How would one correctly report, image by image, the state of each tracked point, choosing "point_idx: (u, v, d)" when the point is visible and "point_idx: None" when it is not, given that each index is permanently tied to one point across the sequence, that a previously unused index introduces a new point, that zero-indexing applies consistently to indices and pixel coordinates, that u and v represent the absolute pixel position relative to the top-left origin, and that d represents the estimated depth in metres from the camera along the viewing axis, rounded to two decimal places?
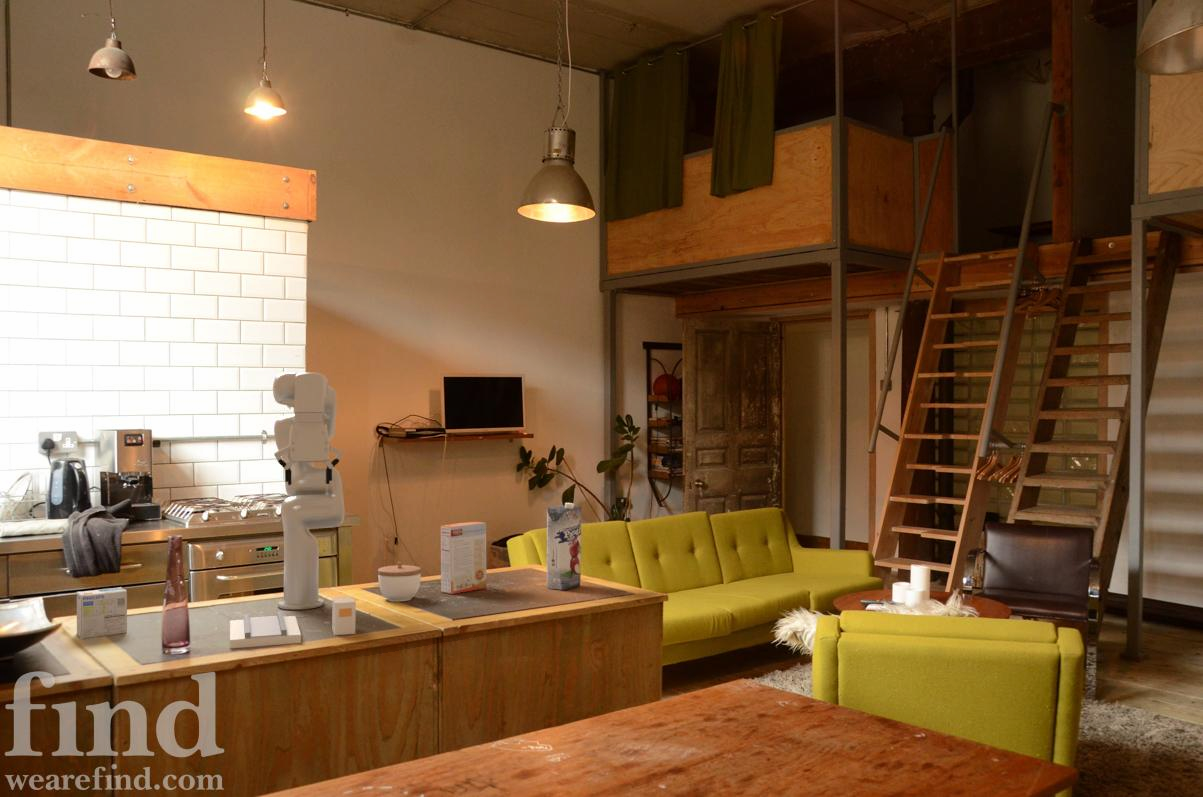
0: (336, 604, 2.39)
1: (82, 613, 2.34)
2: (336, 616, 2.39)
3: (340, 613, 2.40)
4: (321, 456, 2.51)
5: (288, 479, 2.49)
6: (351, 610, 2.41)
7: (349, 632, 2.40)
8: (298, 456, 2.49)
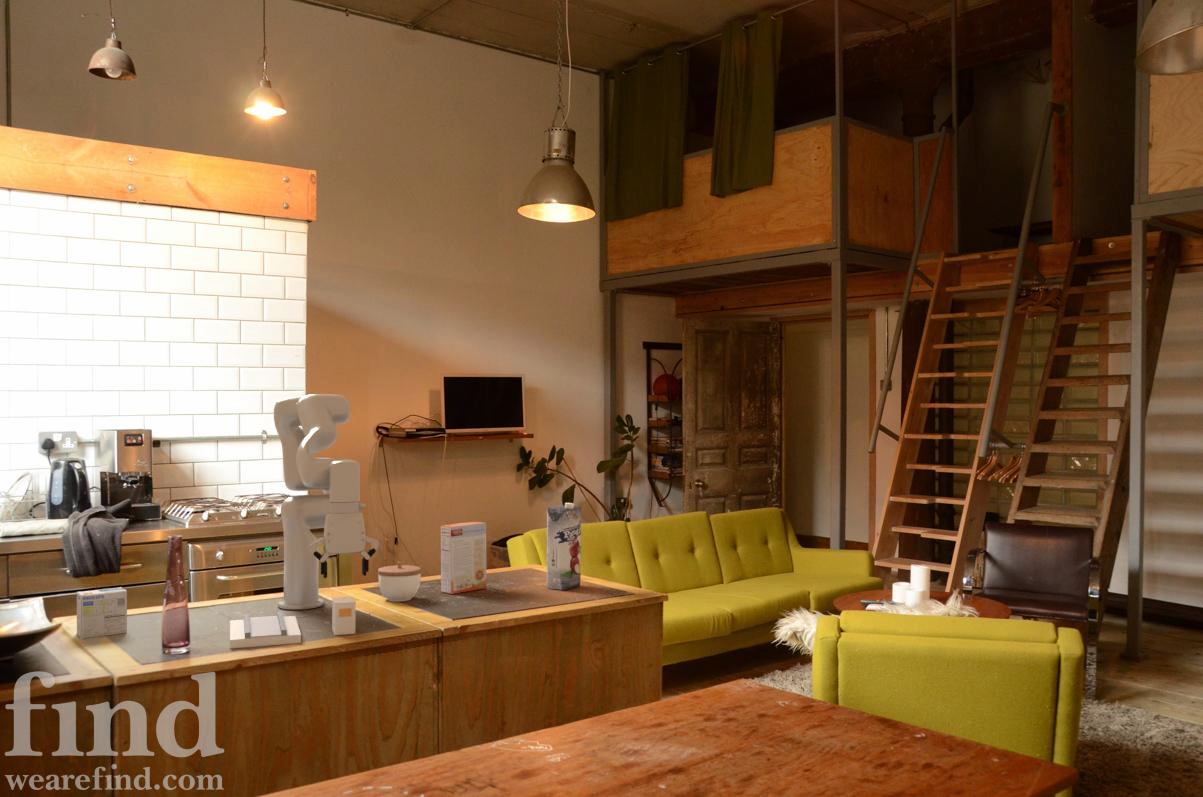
0: (336, 604, 2.39)
1: (82, 613, 2.34)
2: (336, 616, 2.39)
3: (340, 613, 2.40)
4: (357, 547, 2.42)
5: (324, 572, 2.40)
6: (351, 610, 2.41)
7: (349, 632, 2.40)
8: (334, 548, 2.40)
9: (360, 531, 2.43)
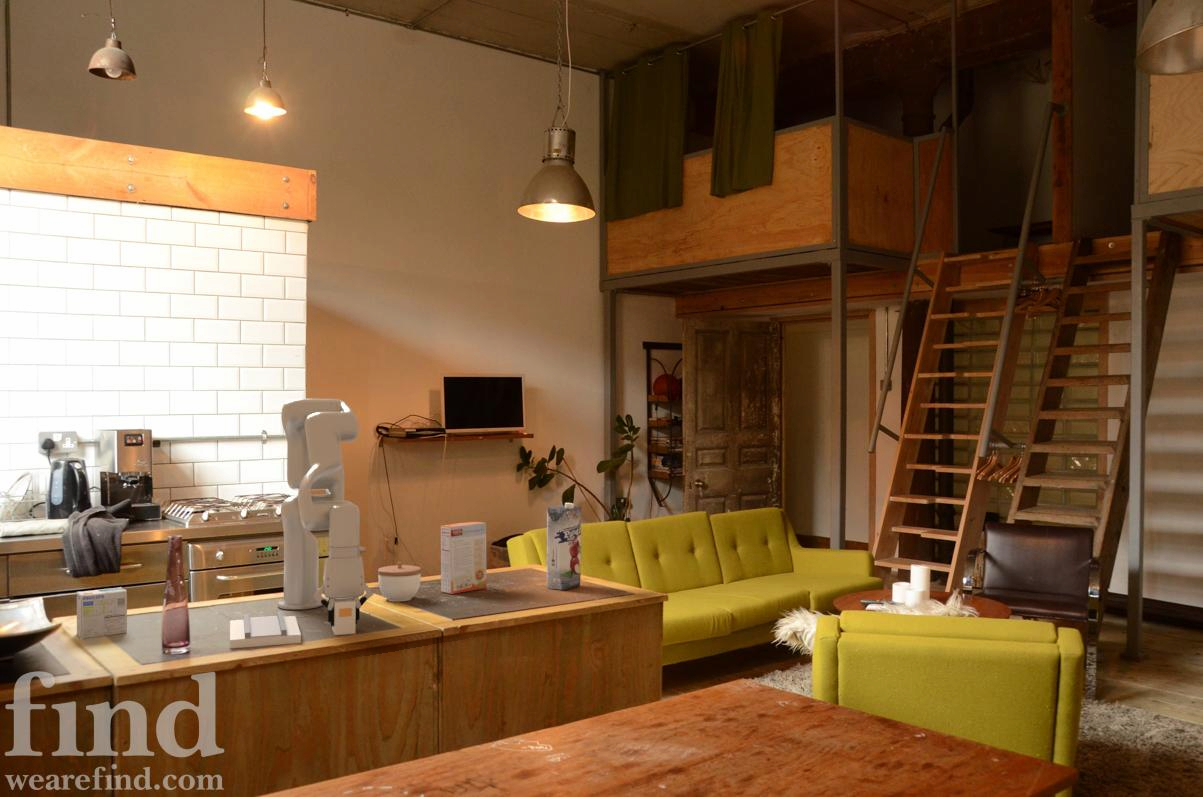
0: (336, 604, 2.39)
1: (82, 613, 2.34)
2: (336, 616, 2.39)
3: (340, 613, 2.40)
4: (357, 591, 2.43)
5: (331, 620, 2.41)
6: (351, 610, 2.41)
7: (349, 632, 2.40)
8: (333, 592, 2.40)
9: (359, 575, 2.43)
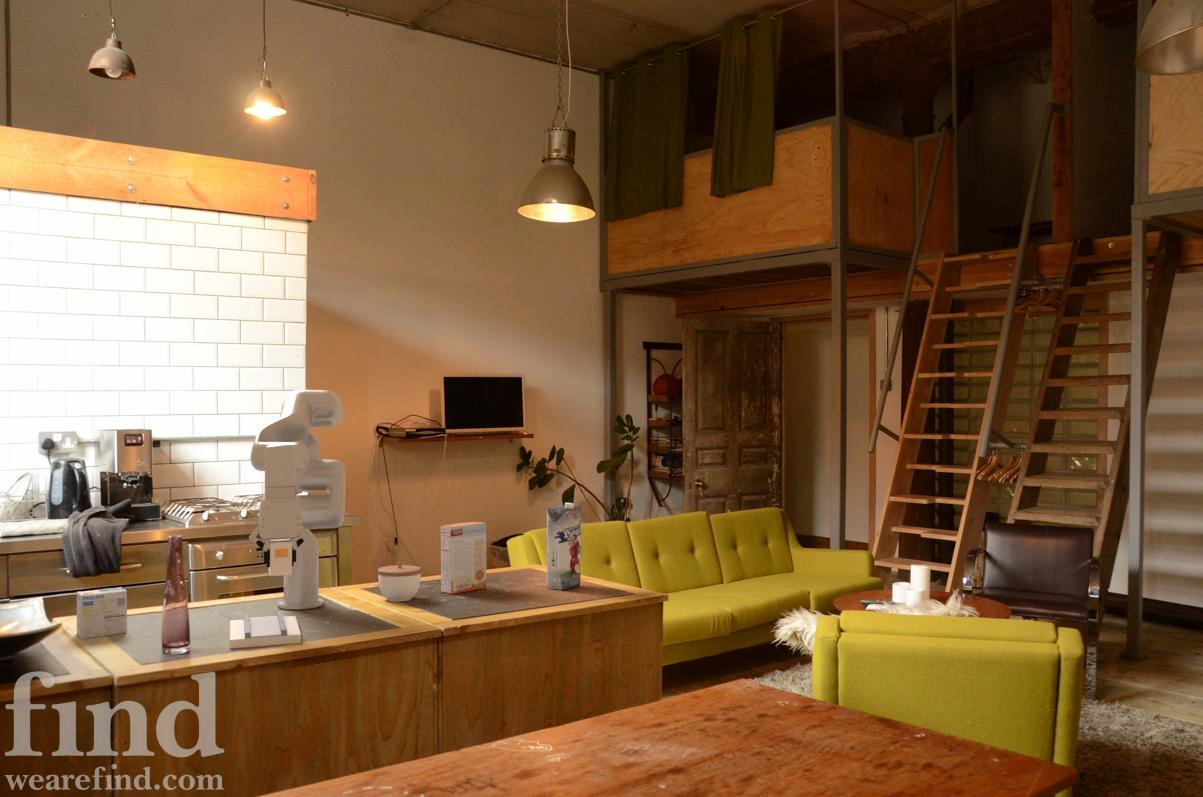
0: (272, 544, 2.35)
1: (82, 613, 2.34)
2: (272, 557, 2.35)
3: (276, 554, 2.36)
4: (293, 532, 2.39)
5: (267, 561, 2.37)
6: (287, 551, 2.37)
7: (285, 573, 2.37)
8: (269, 533, 2.36)
9: (296, 516, 2.39)
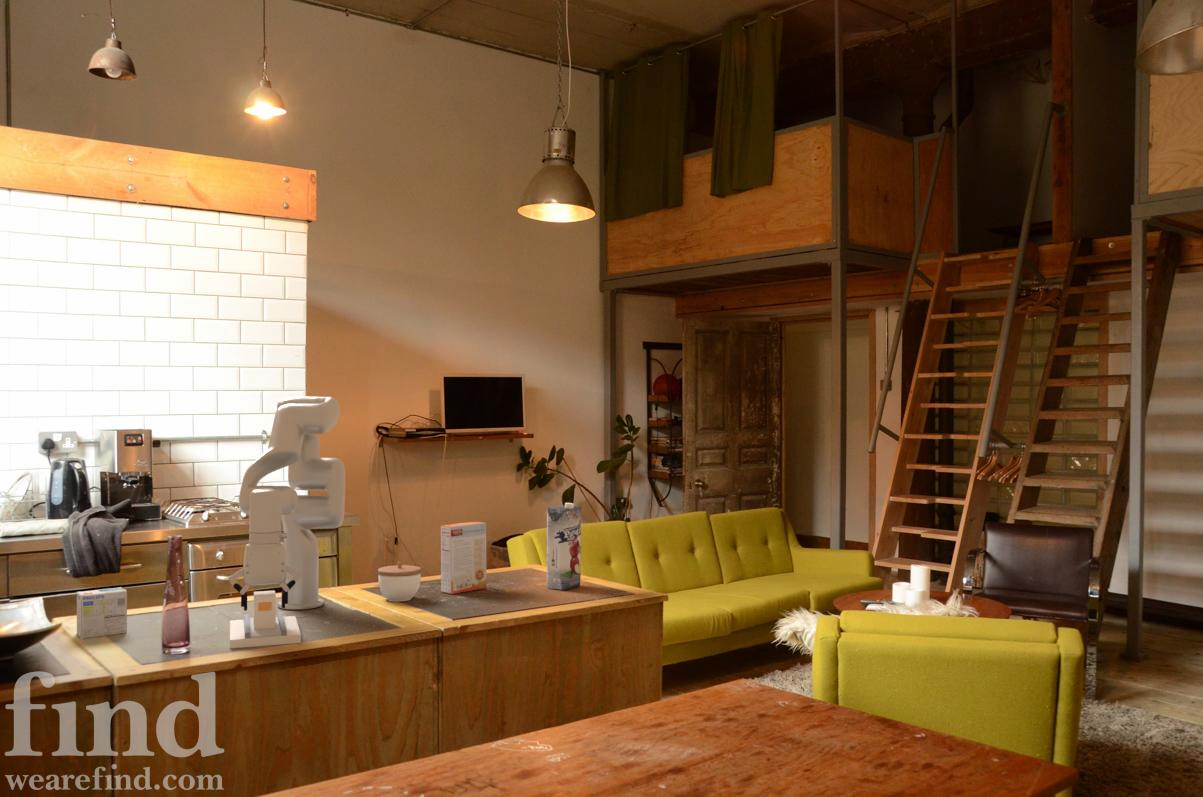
0: (255, 598, 2.34)
1: (82, 613, 2.34)
2: (255, 610, 2.34)
3: (259, 607, 2.35)
4: (277, 578, 2.38)
5: (244, 604, 2.36)
6: (271, 604, 2.36)
7: (269, 626, 2.36)
8: (253, 579, 2.35)
9: (280, 562, 2.38)
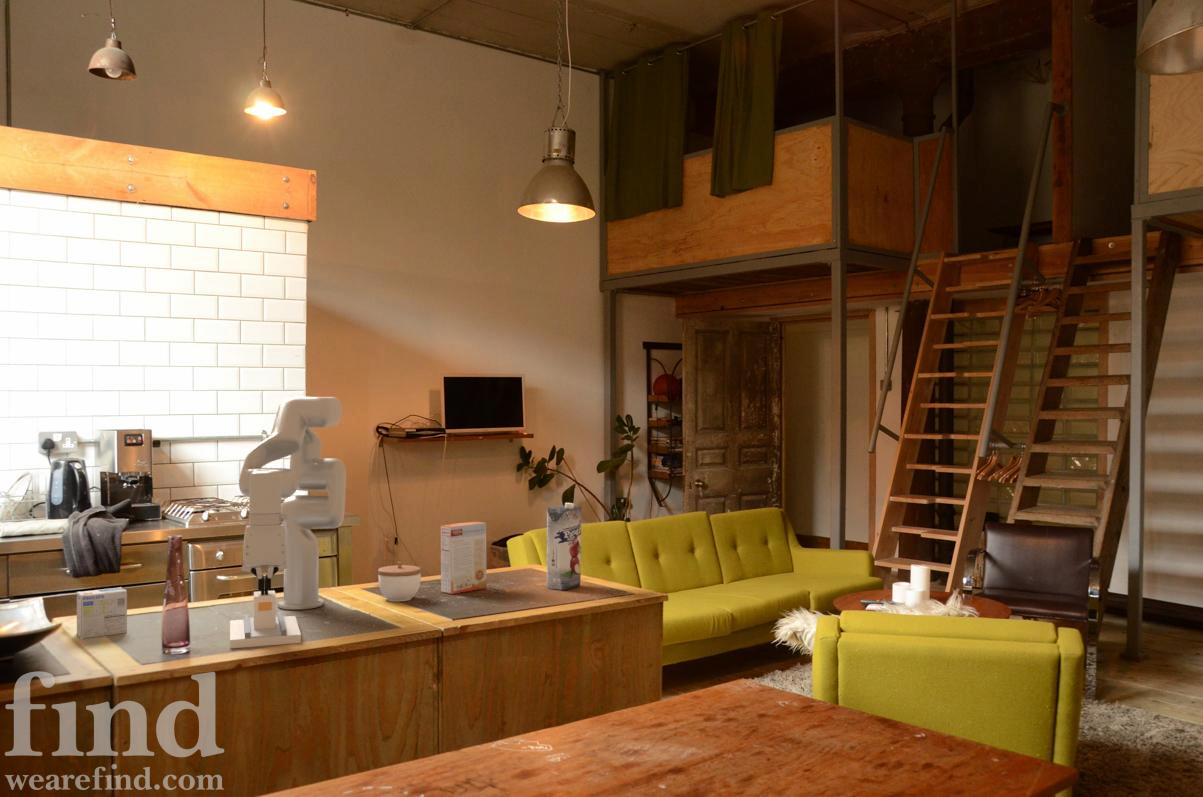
0: (255, 598, 2.34)
1: (82, 613, 2.34)
2: (255, 610, 2.34)
3: (259, 607, 2.35)
4: (277, 559, 2.38)
5: (261, 589, 2.37)
6: (271, 604, 2.36)
7: (269, 626, 2.36)
8: (253, 560, 2.35)
9: (280, 543, 2.38)
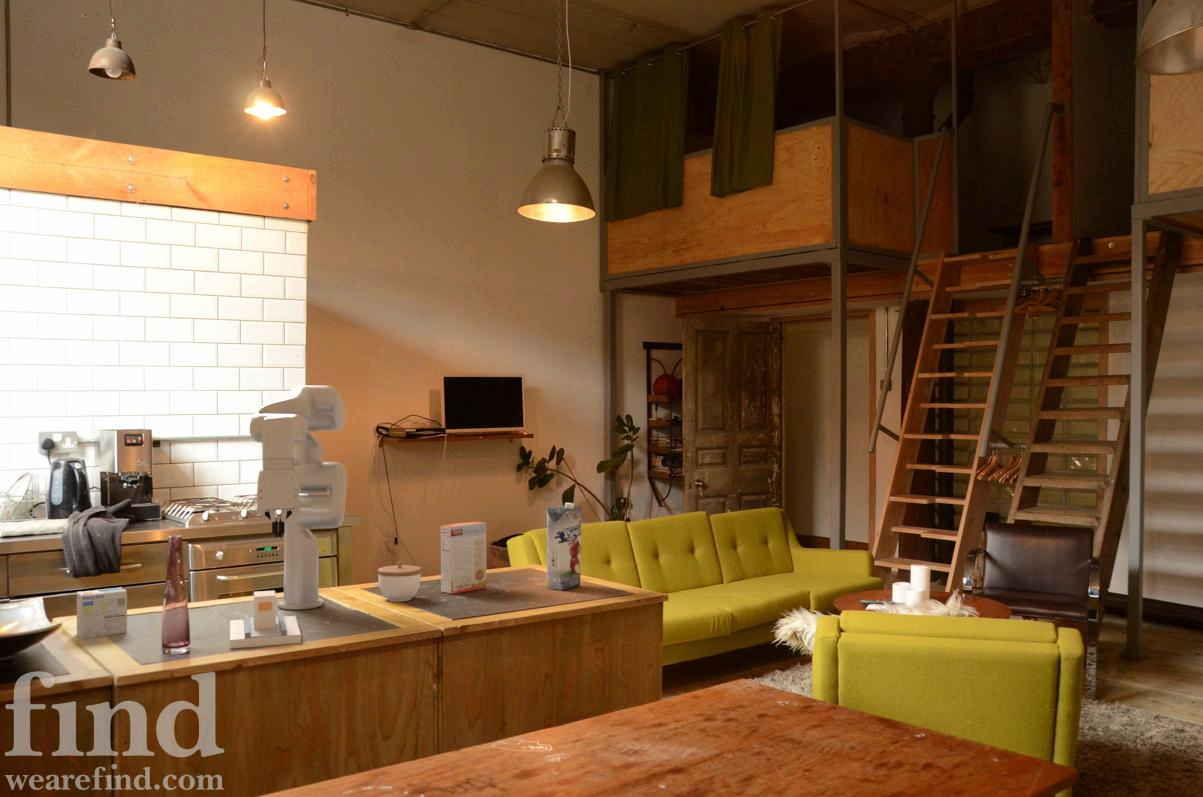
0: (255, 598, 2.34)
1: (82, 613, 2.34)
2: (255, 610, 2.34)
3: (259, 607, 2.35)
4: (291, 503, 2.42)
5: (275, 531, 2.42)
6: (271, 604, 2.36)
7: (269, 626, 2.36)
8: (266, 504, 2.40)
9: (293, 487, 2.42)
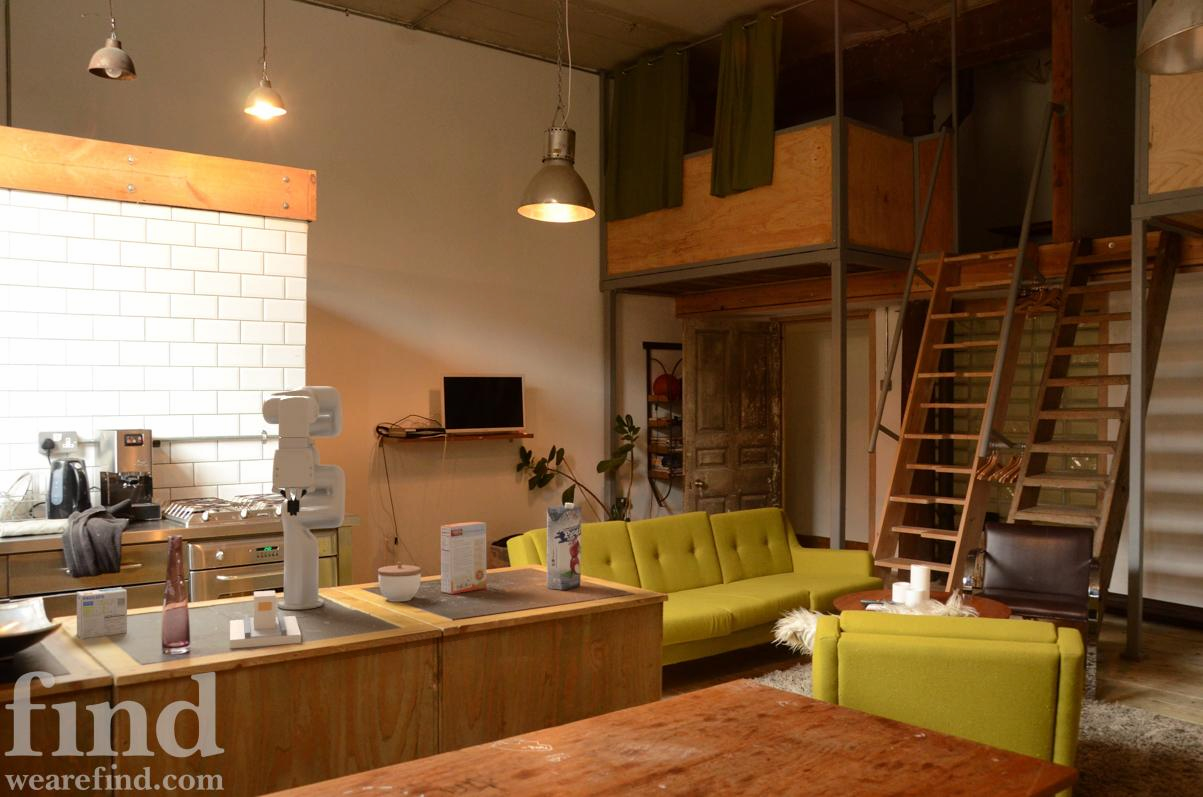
0: (255, 598, 2.34)
1: (82, 613, 2.34)
2: (255, 610, 2.34)
3: (259, 607, 2.35)
4: (306, 482, 2.46)
5: (290, 510, 2.45)
6: (271, 604, 2.36)
7: (269, 626, 2.36)
8: (282, 482, 2.44)
9: (309, 466, 2.46)
